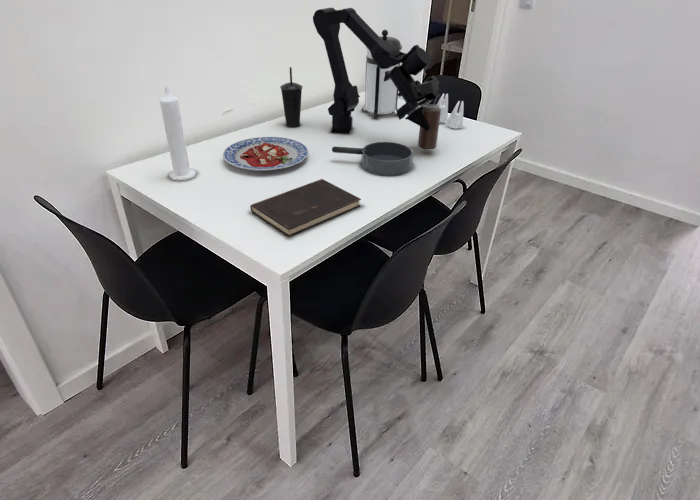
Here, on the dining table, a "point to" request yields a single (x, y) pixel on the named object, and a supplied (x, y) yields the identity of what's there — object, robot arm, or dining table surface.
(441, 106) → the shaker set
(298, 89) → the drinking cup
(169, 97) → the candle
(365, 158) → the pan
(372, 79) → the coffee press
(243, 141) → the ceramic plate
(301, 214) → the hardcover book
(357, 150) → the pan handle
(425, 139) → the pepper mill
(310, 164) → the dining table surface
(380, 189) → the dining table surface
